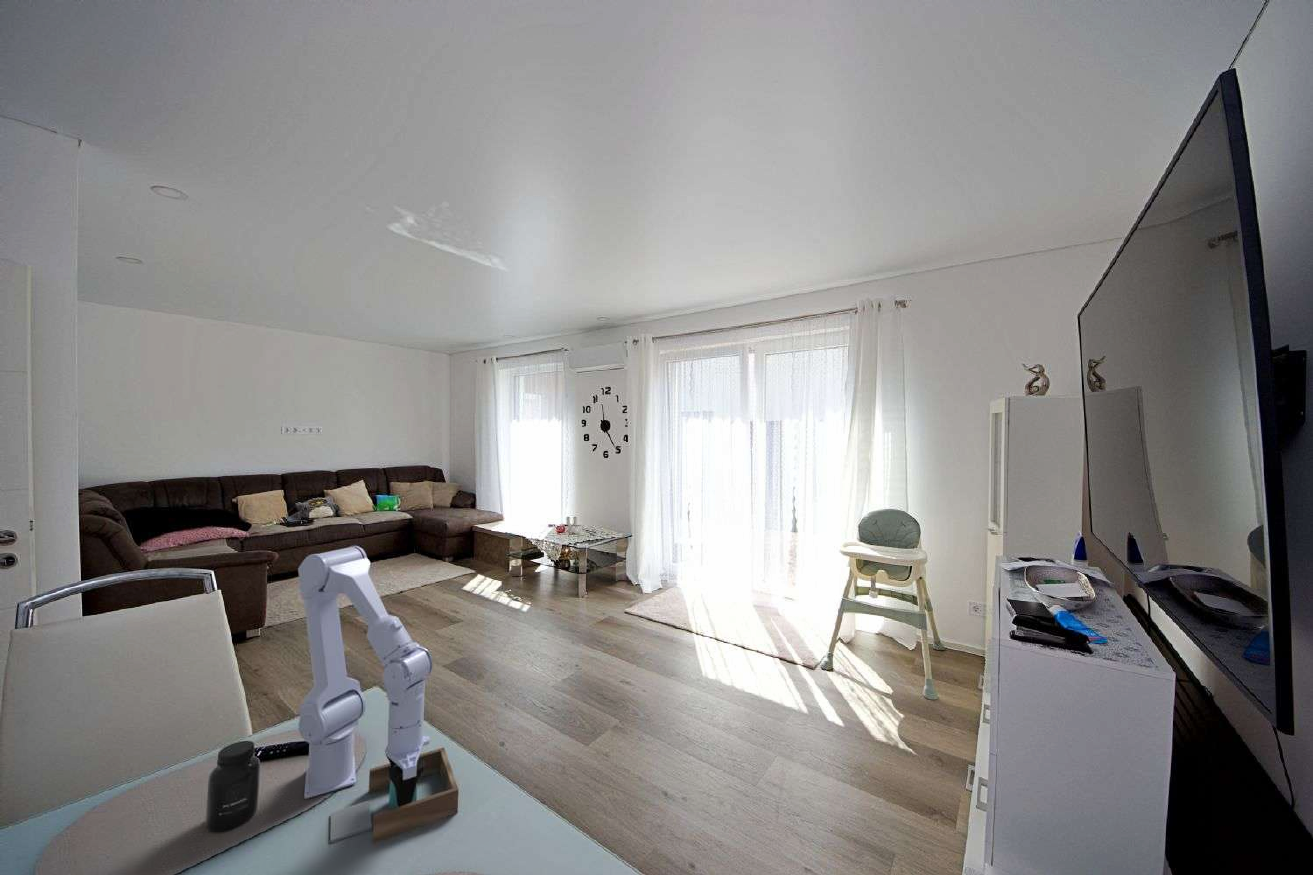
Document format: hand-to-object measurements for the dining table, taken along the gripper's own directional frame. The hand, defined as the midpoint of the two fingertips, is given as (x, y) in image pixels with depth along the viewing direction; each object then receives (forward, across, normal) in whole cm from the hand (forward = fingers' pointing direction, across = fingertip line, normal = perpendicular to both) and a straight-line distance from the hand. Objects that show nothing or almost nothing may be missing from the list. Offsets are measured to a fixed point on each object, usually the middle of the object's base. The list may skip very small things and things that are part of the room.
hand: (403, 795), depth 88 cm
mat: (+2, 0, +8) cm, 8 cm away
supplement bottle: (+2, +11, +25) cm, 27 cm away
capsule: (+2, 0, 0) cm, 2 cm away
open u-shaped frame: (+2, 0, -2) cm, 2 cm away
